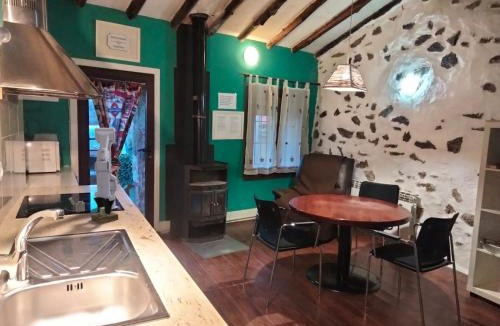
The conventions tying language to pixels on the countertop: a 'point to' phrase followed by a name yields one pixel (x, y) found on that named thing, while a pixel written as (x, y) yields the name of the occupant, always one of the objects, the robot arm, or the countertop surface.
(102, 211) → the sage peg
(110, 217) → the brown square frame
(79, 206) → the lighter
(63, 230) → the countertop surface
